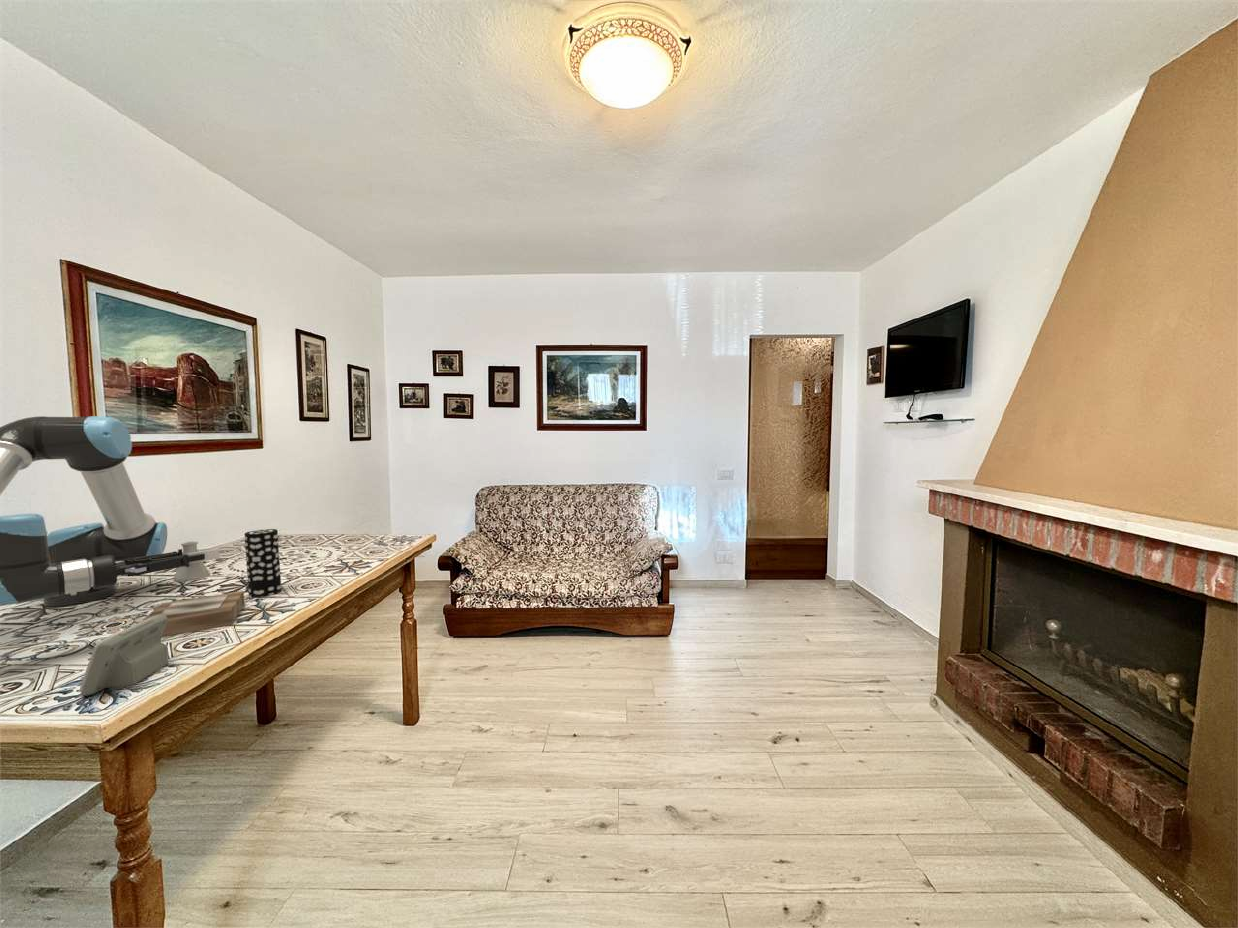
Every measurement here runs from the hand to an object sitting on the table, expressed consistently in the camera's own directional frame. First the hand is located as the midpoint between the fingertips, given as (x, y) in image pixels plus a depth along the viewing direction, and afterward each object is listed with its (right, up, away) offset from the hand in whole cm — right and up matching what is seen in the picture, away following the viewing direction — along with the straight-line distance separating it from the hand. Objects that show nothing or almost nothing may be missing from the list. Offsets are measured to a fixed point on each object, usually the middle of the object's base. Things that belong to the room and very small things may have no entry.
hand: (216, 552), depth 129 cm
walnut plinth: (-3, -18, -3) cm, 19 cm away
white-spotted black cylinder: (-1, -17, +19) cm, 25 cm away
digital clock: (+10, -20, -32) cm, 39 cm away
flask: (-3, -7, -4) cm, 8 cm away
